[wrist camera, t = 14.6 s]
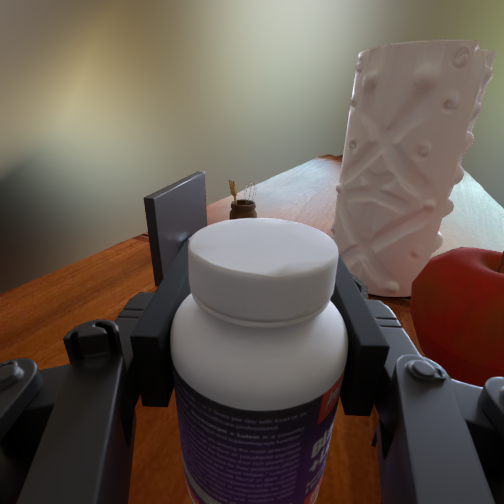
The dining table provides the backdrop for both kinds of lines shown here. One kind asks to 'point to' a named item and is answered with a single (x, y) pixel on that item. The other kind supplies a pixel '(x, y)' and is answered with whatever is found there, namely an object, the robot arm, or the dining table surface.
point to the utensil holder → (241, 206)
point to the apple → (462, 313)
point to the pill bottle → (258, 362)
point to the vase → (405, 155)
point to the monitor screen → (174, 220)
